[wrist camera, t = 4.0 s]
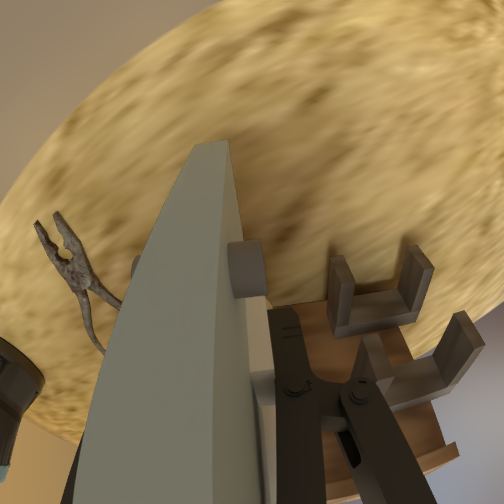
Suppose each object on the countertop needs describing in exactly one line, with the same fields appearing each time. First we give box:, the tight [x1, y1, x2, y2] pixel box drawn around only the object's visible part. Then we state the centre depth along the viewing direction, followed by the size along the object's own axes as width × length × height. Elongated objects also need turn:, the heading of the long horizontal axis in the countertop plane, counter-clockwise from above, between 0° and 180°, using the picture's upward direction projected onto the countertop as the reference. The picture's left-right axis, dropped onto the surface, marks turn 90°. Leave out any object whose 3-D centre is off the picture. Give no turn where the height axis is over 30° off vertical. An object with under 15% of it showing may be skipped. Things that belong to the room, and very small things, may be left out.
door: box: [73, 140, 276, 504], centre depth 11 cm, size 4×14×14 cm, turn 7°
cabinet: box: [272, 245, 485, 504], centre depth 19 cm, size 18×14×17 cm
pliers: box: [33, 211, 122, 356], centre depth 25 cm, size 10×1×20 cm
